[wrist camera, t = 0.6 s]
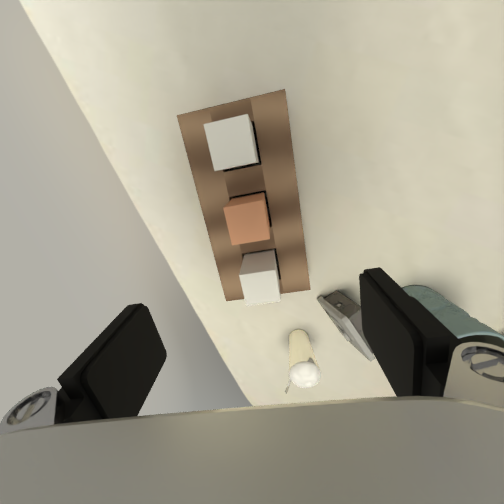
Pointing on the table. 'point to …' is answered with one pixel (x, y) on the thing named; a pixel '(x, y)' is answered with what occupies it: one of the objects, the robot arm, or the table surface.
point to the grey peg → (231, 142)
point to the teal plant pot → (455, 317)
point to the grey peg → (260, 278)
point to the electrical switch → (347, 320)
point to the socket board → (250, 190)
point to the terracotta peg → (247, 219)
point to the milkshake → (302, 361)
